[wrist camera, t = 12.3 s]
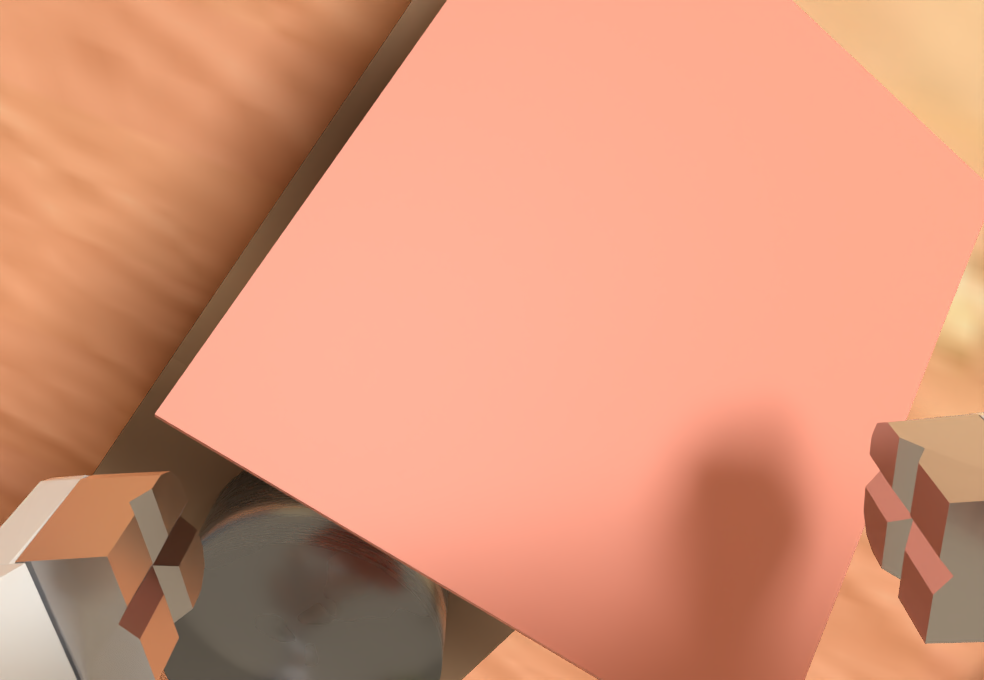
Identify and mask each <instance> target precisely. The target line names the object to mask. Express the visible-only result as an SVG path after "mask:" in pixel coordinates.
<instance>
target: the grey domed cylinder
mask: <svg viewBox="0 0 984 680" xmlns="http://www.w3.org/2000/svg"><path fill="white" fill-rule="evenodd" d="M199 536H200V539H201V543H202V546H203V554H204V564H205V567H204V574H203V581H202V588H201V591H200V594H199V596H198V598H197V600H196V603H195V605H194V607H193V609H192V610H190V611H189V612H188V613H186V614H185V615H184V616H183V617H181V618H180V619H179V620H177V621H176V622H175V623H174V625H175V627H176V630H177V633H178V636H179V639H178V641H177V643H176V645H175V647H174V649H173V651H172V653H171V655H170V657H169V660H168V662H167V664H166V666H165V668H164V672H165V674H166V676H167V678H168V680H440V676H441V671H442V660H443V650H444V639H445V629H446V618H447V608H448V598H449V591H448V590H446V589H445V588H443V587H441V586H440V585H438V584H436V583H435V582H433V581H431V580H430V579H428V578H426V577H425V576H423V575H421V574H419V573H418V572H416V571H414V570H413V569H411V568H409V567H408V566H406V565H404V564H403V563H401V562H399V561H398V560H396V559H394V558H392V557H391V556H389V555H387V554H386V553H384V552H382V551H381V550H379V549H377V548H376V547H374V546H372V545H370V544H369V543H367V542H365V541H364V540H362V539H360V538H359V537H357V536H355V535H354V534H352V533H350V532H349V531H347V530H345V529H343V528H342V527H340V526H338V525H337V524H335V523H333V522H332V521H330V520H328V519H327V518H325V517H323V516H322V515H320V514H318V513H316V512H315V511H313V510H311V509H310V508H308V507H306V506H305V505H303V504H301V503H300V502H298V501H296V500H294V499H293V498H291V497H289V496H288V495H286V494H284V493H283V492H281V491H279V490H278V489H276V488H274V487H273V486H271V485H269V484H267V483H266V482H264V481H262V480H261V479H259V478H257V477H256V476H254V475H252V474H251V473H249V472H247V471H246V470H244V471H242V472H241V473H240V474H239V475H237V476H236V477H235V478H233V479H232V480H231V481H230V482H229V484H228V485H227V486H226V487H225V488H224V489H223V490H222V492H221V493H220V495H219V496H218V498H217V499H216V501H215V503H214V504H213V506H212V508H211V510H210V512H209V514H208V516H207V518H206V520H205V522H204V524H203V526H202V528H201V530H200V531H199Z"/></svg>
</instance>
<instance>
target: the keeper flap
mask: <svg viewBox="0 0 984 680" xmlns="http://www.w3.org/2000/svg"><path fill="white" fill-rule="evenodd" d="M983 222H984V180H983V179H982V178H981V177H980V176H979V175H978V174H976V173H975V172H974V171H973V170H972V169H971V168H970V167H969V166H968V165H967V164H966V163H965V162H964V161H963V160H962V159H961V158H959V157H958V156H957V155H956V154H955V153H954V152H953V151H952V150H951V149H950V148H949V147H948V146H947V145H946V144H945V143H944V142H942V141H941V140H940V139H939V138H938V137H937V136H936V135H935V134H934V133H933V132H932V131H931V130H930V129H929V128H928V127H926V126H925V125H924V124H923V123H922V122H921V121H920V120H919V119H918V118H917V117H916V116H915V115H914V114H913V113H912V112H911V111H909V110H908V109H907V108H906V107H905V106H904V105H903V104H902V103H901V102H900V101H899V100H898V99H897V98H896V97H895V96H893V95H892V94H891V93H890V92H889V91H888V90H887V89H886V88H885V87H884V86H883V85H882V84H881V83H880V82H879V81H878V80H876V79H875V78H874V77H873V76H872V75H871V74H870V73H869V72H868V71H867V70H866V69H865V68H864V67H863V66H862V65H860V64H859V63H858V62H857V61H856V60H855V59H854V58H853V57H852V56H851V55H850V54H849V53H848V52H847V51H846V50H845V49H843V48H842V47H841V46H840V45H839V44H838V43H837V42H836V41H835V40H834V39H833V38H832V37H831V36H830V35H829V34H828V33H826V32H825V31H824V30H823V29H822V28H821V27H820V26H819V25H818V24H817V23H816V22H815V21H814V20H813V19H812V18H810V17H809V16H808V15H807V14H806V13H805V12H804V11H803V10H802V9H801V8H800V7H799V6H798V5H797V4H796V3H795V2H793V1H792V0H447V1H446V3H445V4H444V5H443V7H442V8H441V10H440V11H439V12H438V14H437V15H436V17H435V18H434V19H433V21H432V22H431V24H430V25H429V27H428V28H427V29H426V31H425V32H424V34H423V35H422V36H421V38H420V39H419V41H418V42H417V44H416V45H415V46H414V48H413V49H412V51H411V52H410V53H409V55H408V56H407V58H406V59H405V61H404V62H403V63H402V65H401V66H400V68H399V69H398V70H397V72H396V73H395V75H394V76H393V78H392V79H391V80H390V82H389V83H388V85H387V86H386V87H385V89H384V90H383V92H382V93H381V94H380V96H379V97H378V99H377V100H376V102H375V103H374V104H373V106H372V107H371V109H370V110H369V111H368V113H367V114H366V116H365V117H364V119H363V120H362V121H361V123H360V124H359V126H358V127H357V128H356V130H355V131H354V133H353V134H352V136H351V137H350V138H349V140H348V141H347V143H346V144H345V145H344V147H343V148H342V150H341V151H340V153H339V154H338V155H337V157H336V158H335V160H334V161H333V162H332V164H331V165H330V167H329V168H328V169H327V171H326V172H325V174H324V175H323V177H322V178H321V179H320V181H319V182H318V184H317V185H316V186H315V188H314V189H313V191H312V192H311V194H310V195H309V196H308V198H307V199H306V201H305V202H304V203H303V205H302V206H301V208H300V209H299V211H298V212H297V213H296V215H295V216H294V218H293V219H292V220H291V222H290V223H289V225H288V226H287V228H286V229H285V230H284V232H283V233H282V235H281V236H280V237H279V239H278V240H277V242H276V243H275V244H274V246H273V247H272V249H271V250H270V252H269V253H268V254H267V256H266V257H265V259H264V260H263V261H262V263H261V264H260V266H259V267H258V269H257V270H256V271H255V273H254V274H253V276H252V277H251V278H250V280H249V281H248V283H247V284H246V286H245V287H244V288H243V290H242V291H241V293H240V294H239V295H238V297H237V298H236V300H235V301H234V303H233V304H232V305H231V307H230V308H229V310H228V311H227V312H226V314H225V315H224V317H223V318H222V319H221V321H220V322H219V324H218V325H217V327H216V328H215V329H214V331H213V332H212V334H211V335H210V336H209V338H208V339H207V341H206V342H205V344H204V345H203V346H202V348H201V349H200V351H199V352H198V353H197V355H196V356H195V358H194V359H193V361H192V362H191V363H190V365H189V366H188V368H187V369H186V370H185V372H184V373H183V375H182V376H181V377H180V379H179V380H178V382H177V383H176V385H175V386H174V387H173V389H172V390H171V392H170V393H169V394H168V396H167V397H166V399H165V400H164V402H163V403H162V404H161V406H160V407H159V409H158V410H157V411H156V413H155V417H156V418H158V419H159V420H161V421H163V422H164V423H166V424H168V425H170V426H171V427H173V428H175V429H176V430H178V431H180V432H181V433H183V434H185V435H186V436H188V437H190V438H191V439H193V440H195V441H197V442H198V443H200V444H202V445H203V446H205V447H207V448H208V449H210V450H212V451H213V452H215V453H217V454H219V455H220V456H222V457H224V458H225V459H227V460H229V461H230V462H232V463H234V464H235V465H237V466H239V467H240V468H242V469H244V470H246V471H247V472H249V473H251V474H252V475H254V476H256V477H257V478H259V479H261V480H262V481H264V482H266V483H267V484H269V485H271V486H273V487H274V488H276V489H278V490H279V491H281V492H283V493H284V494H286V495H288V496H289V497H291V498H293V499H294V500H296V501H298V502H300V503H301V504H303V505H305V506H306V507H308V508H310V509H311V510H313V511H315V512H316V513H318V514H320V515H322V516H323V517H325V518H327V519H328V520H330V521H332V522H333V523H335V524H337V525H338V526H340V527H342V528H343V529H345V530H347V531H349V532H350V533H352V534H354V535H355V536H357V537H359V538H360V539H362V540H364V541H365V542H367V543H369V544H370V545H372V546H374V547H376V548H377V549H379V550H381V551H382V552H384V553H386V554H387V555H389V556H391V557H392V558H394V559H396V560H398V561H399V562H401V563H403V564H404V565H406V566H408V567H409V568H411V569H413V570H414V571H416V572H418V573H419V574H421V575H423V576H425V577H426V578H428V579H430V580H431V581H433V582H435V583H436V584H438V585H440V586H441V587H443V588H445V589H446V590H448V591H450V592H452V593H453V594H455V595H457V596H458V597H460V598H462V599H463V600H465V601H467V602H468V603H470V604H472V605H473V606H475V607H477V608H479V609H480V610H482V611H484V612H485V613H487V614H489V615H490V616H492V617H494V618H495V619H497V620H499V621H501V622H502V623H504V624H506V625H507V626H509V627H511V628H512V629H514V630H516V631H517V632H519V633H521V634H522V635H524V636H526V637H528V638H529V639H531V640H533V641H534V642H536V643H538V644H539V645H541V646H543V647H544V648H546V649H548V650H549V651H551V652H553V653H555V654H556V655H558V656H560V657H561V658H563V659H565V660H566V661H568V662H570V663H571V664H573V665H575V666H577V667H578V668H580V669H582V670H583V671H585V672H587V673H588V674H590V675H592V676H593V677H595V678H597V679H598V680H805V677H806V675H807V672H808V670H809V667H810V665H811V662H812V659H813V657H814V654H815V652H816V649H817V647H818V644H819V642H820V639H821V636H822V634H823V631H824V629H825V626H826V624H827V621H828V618H829V616H830V613H831V611H832V608H833V606H834V603H835V601H836V598H837V595H838V593H839V590H840V588H841V585H842V583H843V580H844V578H845V575H846V572H847V570H848V567H849V565H850V562H851V560H852V557H853V554H854V552H855V549H856V547H857V544H858V542H859V539H860V537H861V534H862V531H863V529H864V526H865V519H864V498H865V487H866V485H867V484H868V483H869V482H870V481H871V480H872V479H873V478H874V477H875V476H876V475H877V473H878V472H879V471H880V470H879V468H878V467H877V465H876V464H875V462H874V461H873V459H872V457H871V456H870V454H869V453H870V445H871V438H872V434H873V431H874V429H875V427H876V424H877V423H881V422H892V421H903V420H906V419H907V416H908V414H909V411H910V409H911V406H912V403H913V401H914V398H915V396H916V393H917V391H918V388H919V386H920V383H921V380H922V378H923V375H924V373H925V370H926V368H927V365H928V362H929V360H930V357H931V355H932V352H933V350H934V347H935V345H936V342H937V339H938V337H939V334H940V332H941V329H942V327H943V324H944V322H945V319H946V316H947V314H948V311H949V309H950V306H951V304H952V301H953V298H954V296H955V293H956V291H957V288H958V286H959V283H960V281H961V278H962V275H963V273H964V270H965V268H966V265H967V263H968V260H969V258H970V255H971V252H972V250H973V247H974V245H975V242H976V240H977V237H978V234H979V232H980V229H981V227H982V224H983Z"/></svg>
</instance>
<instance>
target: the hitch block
mask: <svg viewBox="0 0 984 680" xmlns="http://www.w3.org/2000/svg"><path fill="white" fill-rule="evenodd" d="M446 1H447V0H412V2H411V3H410V5H409V6H408V7H407V9H406V10H405V12H404V13H403V15H402V16H401V18H400V19H399V21H398V22H397V24H396V25H395V27H394V28H393V30H392V31H391V33H390V34H389V36H388V37H387V39H386V40H385V42H384V43H383V45H382V46H381V48H380V49H379V51H378V52H377V54H376V55H375V56H374V58H373V59H372V61H371V62H370V64H369V65H368V67H367V68H366V70H365V71H364V73H363V74H362V76H361V77H360V79H359V80H358V82H357V83H356V85H355V86H354V88H353V89H352V91H351V92H350V94H349V95H348V97H347V98H346V100H345V101H344V102H343V104H342V105H341V107H340V108H339V110H338V111H337V113H336V114H335V116H334V117H333V119H332V120H331V122H330V123H329V125H328V126H327V128H326V129H325V131H324V132H323V134H322V135H321V137H320V138H319V140H318V141H317V143H316V144H315V146H314V147H313V149H312V150H311V151H310V153H309V154H308V156H307V157H306V159H305V160H304V162H303V163H302V165H301V166H300V168H299V169H298V171H297V172H296V174H295V175H294V177H293V178H292V180H291V181H290V183H289V184H288V186H287V187H286V189H285V190H284V192H283V193H282V195H281V196H280V198H279V199H278V200H277V202H276V203H275V205H274V206H273V208H272V209H271V211H270V212H269V214H268V215H267V217H266V218H265V220H264V221H263V223H262V224H261V226H260V227H259V229H258V230H257V232H256V233H255V235H254V236H253V238H252V239H251V241H250V242H249V244H248V245H247V246H246V248H245V249H244V251H243V252H242V254H241V255H240V257H239V258H238V260H237V261H236V263H235V264H234V266H233V267H232V269H231V270H230V272H229V273H228V275H227V276H226V278H225V279H224V281H223V282H222V284H221V285H220V287H219V288H218V290H217V291H216V293H215V294H214V295H213V297H212V298H211V300H210V301H209V303H208V304H207V306H206V307H205V309H204V310H203V312H202V313H201V315H200V316H199V318H198V319H197V321H196V322H195V324H194V325H193V327H192V328H191V330H190V331H189V333H188V334H187V336H186V337H185V339H184V340H183V341H182V343H181V344H180V346H179V347H178V349H177V350H176V352H175V353H174V355H173V356H172V358H171V359H170V361H169V362H168V364H167V365H166V367H165V368H164V370H163V371H162V373H161V374H160V376H159V377H158V379H157V380H156V382H155V383H154V385H153V386H152V388H151V389H150V390H149V392H148V393H147V395H146V396H145V398H144V399H143V401H142V402H141V404H140V405H139V407H138V408H137V410H136V411H135V413H134V414H133V416H132V417H131V419H130V420H129V422H128V423H127V425H126V426H125V428H124V429H123V431H122V432H121V434H120V435H119V436H118V438H117V439H116V441H115V442H114V444H113V445H112V447H111V448H110V450H109V451H108V453H107V454H106V456H105V457H104V459H103V460H102V462H101V463H100V465H99V466H98V468H97V469H96V471H95V472H94V474H93V475H100V474H120V473H141V472H161V471H171V472H172V473H174V474H175V475H177V476H178V477H180V480H181V483H182V485H183V488H184V491H185V493H186V496H187V499H188V501H187V503H186V505H185V507H184V509H183V511H182V513H181V515H180V516H181V517H182V518H184V519H185V520H186V521H187V522H188V523H190V524H191V525H192V526H193V527H194V528H196V529H197V530H198V533H199V531H200V530H201V528H202V526H203V524H204V522H205V520H206V518H207V516H208V514H209V512H210V510H211V508H212V506H213V504H214V503H215V501H216V499H217V498H218V496H219V495H220V493H221V492H222V490H223V489H224V488H225V487H226V486H227V485H228V484H229V482H230V481H231V480H232V479H233V478H235V477H236V476H237V475H239V474H240V473H241V472H242V471H244V469H242V468H240V467H239V466H237V465H235V464H234V463H232V462H230V461H229V460H227V459H225V458H224V457H222V456H220V455H219V454H217V453H215V452H213V451H212V450H210V449H208V448H207V447H205V446H203V445H202V444H200V443H198V442H197V441H195V440H193V439H191V438H190V437H188V436H186V435H185V434H183V433H181V432H180V431H178V430H176V429H175V428H173V427H171V426H170V425H168V424H166V423H164V422H163V421H161V420H159V419H158V418H156V417H155V413H156V411H157V410H158V409H159V407H160V406H161V404H162V403H163V402H164V400H165V399H166V397H167V396H168V394H169V393H170V392H171V390H172V389H173V387H174V386H175V385H176V383H177V382H178V380H179V379H180V377H181V376H182V375H183V373H184V372H185V370H186V369H187V368H188V366H189V365H190V363H191V362H192V361H193V359H194V358H195V356H196V355H197V353H198V352H199V351H200V349H201V348H202V346H203V345H204V344H205V342H206V341H207V339H208V338H209V336H210V335H211V334H212V332H213V331H214V329H215V328H216V327H217V325H218V324H219V322H220V321H221V319H222V318H223V317H224V315H225V314H226V312H227V311H228V310H229V308H230V307H231V305H232V304H233V303H234V301H235V300H236V298H237V297H238V295H239V294H240V293H241V291H242V290H243V288H244V287H245V286H246V284H247V283H248V281H249V280H250V278H251V277H252V276H253V274H254V273H255V271H256V270H257V269H258V267H259V266H260V264H261V263H262V261H263V260H264V259H265V257H266V256H267V254H268V253H269V252H270V250H271V249H272V247H273V246H274V244H275V243H276V242H277V240H278V239H279V237H280V236H281V235H282V233H283V232H284V230H285V229H286V228H287V226H288V225H289V223H290V222H291V220H292V219H293V218H294V216H295V215H296V213H297V212H298V211H299V209H300V208H301V206H302V205H303V203H304V202H305V201H306V199H307V198H308V196H309V195H310V194H311V192H312V191H313V189H314V188H315V186H316V185H317V184H318V182H319V181H320V179H321V178H322V177H323V175H324V174H325V172H326V171H327V169H328V168H329V167H330V165H331V164H332V162H333V161H334V160H335V158H336V157H337V155H338V154H339V153H340V151H341V150H342V148H343V147H344V145H345V144H346V143H347V141H348V140H349V138H350V137H351V136H352V134H353V133H354V131H355V130H356V128H357V127H358V126H359V124H360V123H361V121H362V120H363V119H364V117H365V116H366V114H367V113H368V111H369V110H370V109H371V107H372V106H373V104H374V103H375V102H376V100H377V99H378V97H379V96H380V94H381V93H382V92H383V90H384V89H385V87H386V86H387V85H388V83H389V82H390V80H391V79H392V78H393V76H394V75H395V73H396V72H397V70H398V69H399V68H400V66H401V65H402V63H403V62H404V61H405V59H406V58H407V56H408V55H409V53H410V52H411V51H412V49H413V48H414V46H415V45H416V44H417V42H418V41H419V39H420V38H421V36H422V35H423V34H424V32H425V31H426V29H427V28H428V27H429V25H430V24H431V22H432V21H433V19H434V18H435V17H436V15H437V14H438V12H439V11H440V10H441V8H442V7H443V5H444V4H445V3H446ZM513 631H514V629H512V628H511V627H509V626H507V625H506V624H504V623H502V622H501V621H499V620H497V619H495V618H494V617H492V616H490V615H489V614H487V613H485V612H484V611H482V610H480V609H479V608H477V607H475V606H473V605H472V604H470V603H468V602H467V601H465V600H463V599H462V598H460V597H458V596H457V595H455V594H453V593H452V592H450V591H449V598H448V608H447V618H446V629H445V639H444V650H443V660H442V671H441V676H440V680H462V679H463V678H464V677H465V676H466V675H467V674H468V673H469V672H470V671H472V670H473V669H474V668H475V667H476V666H477V665H478V664H479V663H480V662H481V661H482V660H483V659H484V658H486V657H487V656H488V655H489V654H490V653H491V652H492V651H493V650H494V649H495V648H496V647H497V646H498V645H499V644H501V643H502V642H503V641H504V640H505V639H506V638H507V637H508V636H509V635H510V634H511V633H512V632H513Z"/></svg>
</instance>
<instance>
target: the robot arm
mask: <svg viewBox="0 0 984 680" xmlns="http://www.w3.org/2000/svg"><path fill="white" fill-rule="evenodd" d="M869 454H870V456H871V457H872V459H873V461H874V462H875V464H876V465H877V467H878V468H879V470H880V471H879V472H878V473H877V475H876V476H875V477H874V478H873V479H872V480H871V481H870V482H869V483H868V484H867V485H866V487H865V498H864V519H865V526H866V533H867V537H868V540H869V543H870V546H871V549H872V551H873V553H874V555H875V557H876V559H877V561H878V563H879V564H880V566H881V568H882V569H884V570H886V571H887V572H889V573H891V574H892V575H894V576H896V577H897V578H899V579H901V581H900V588H899V595H898V598H899V599H900V601H901V603H902V605H903V606H904V608H905V610H906V611H907V613H908V615H909V617H910V618H911V620H912V622H913V623H914V625H915V627H916V629H917V630H918V632H919V634H920V635H921V637H922V639H923V641H924V642H925V643H961V642H984V412H983V413H973V414H969V415H958V416H947V417H936V418H925V419H914V420H903V421H892V422H881V423H877V424H876V427H875V429H874V431H873V434H872V438H871V445H870V453H869ZM187 501H188V499H187V496H186V493H185V491H184V488H183V485H182V483H181V480H180V477H178V476H177V475H175V474H174V473H172V472H171V471H161V472H141V473H120V474H100V475H91V476H88V475H79V476H67V477H54V478H50V479H47V480H43V481H40V482H39V484H38V485H37V486H36V487H35V488H34V489H33V490H32V492H31V493H30V494H29V495H28V496H27V497H26V498H25V500H24V501H23V502H22V503H21V504H20V505H19V506H18V508H17V509H16V510H15V511H14V512H13V513H12V514H11V516H10V517H9V518H8V519H7V520H6V521H5V522H4V524H3V525H2V526H1V527H0V680H159V678H160V676H161V674H162V672H163V670H164V668H165V666H166V664H167V662H168V660H169V657H170V655H171V653H172V651H173V649H174V647H175V645H176V643H177V641H178V639H179V636H178V633H177V630H176V627H175V625H174V623H175V622H176V621H177V620H179V619H180V618H181V617H183V616H184V615H185V614H186V613H188V612H189V611H190V610H192V609H193V607H194V605H195V603H196V600H197V598H198V596H199V594H200V591H201V588H202V581H203V574H204V567H205V564H204V554H203V546H202V543H201V539H200V536H199V533H198V530H197V529H196V528H194V527H193V526H192V525H191V524H190V523H188V522H187V521H186V520H185V519H184V518H182V517H181V516H180V515H181V513H182V511H183V509H184V507H185V505H186V503H187Z"/></svg>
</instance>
